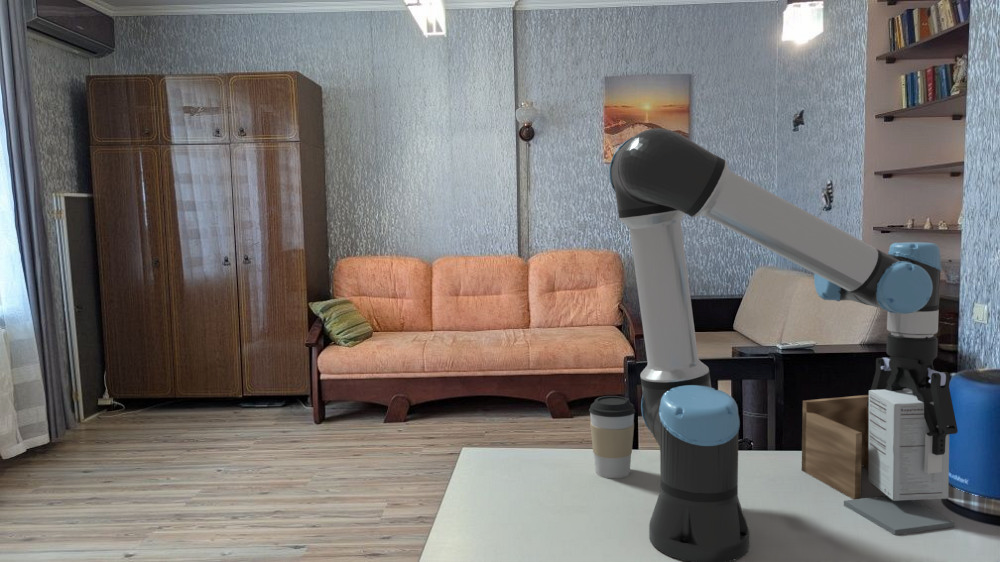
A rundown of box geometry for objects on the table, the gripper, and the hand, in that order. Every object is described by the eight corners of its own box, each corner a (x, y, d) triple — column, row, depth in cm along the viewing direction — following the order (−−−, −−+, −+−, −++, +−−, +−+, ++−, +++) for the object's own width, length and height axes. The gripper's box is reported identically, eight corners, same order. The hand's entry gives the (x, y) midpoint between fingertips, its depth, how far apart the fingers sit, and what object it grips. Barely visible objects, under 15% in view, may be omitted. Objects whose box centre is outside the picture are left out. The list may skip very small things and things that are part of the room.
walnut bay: (854, 499, 129) (856, 422, 127) (801, 470, 143) (802, 400, 142) (924, 491, 132) (926, 415, 130) (865, 463, 146) (867, 395, 145)
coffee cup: (585, 478, 142) (585, 402, 140) (593, 462, 151) (593, 391, 149) (632, 482, 139) (632, 405, 138) (638, 466, 148) (637, 393, 146)
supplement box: (920, 479, 130) (922, 386, 129) (950, 499, 121) (953, 400, 119) (865, 480, 131) (867, 388, 129) (892, 501, 121) (893, 402, 120)
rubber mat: (894, 534, 115) (895, 530, 115) (843, 505, 126) (843, 500, 126) (954, 526, 117) (954, 522, 117) (898, 498, 129) (898, 494, 129)
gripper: (989, 344, 113) (982, 482, 115) (882, 322, 135) (878, 439, 137) (948, 347, 111) (942, 487, 113) (846, 324, 133) (844, 442, 136)
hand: (907, 461), depth 125 cm, fingers closed on supplement box, 10 cm apart
